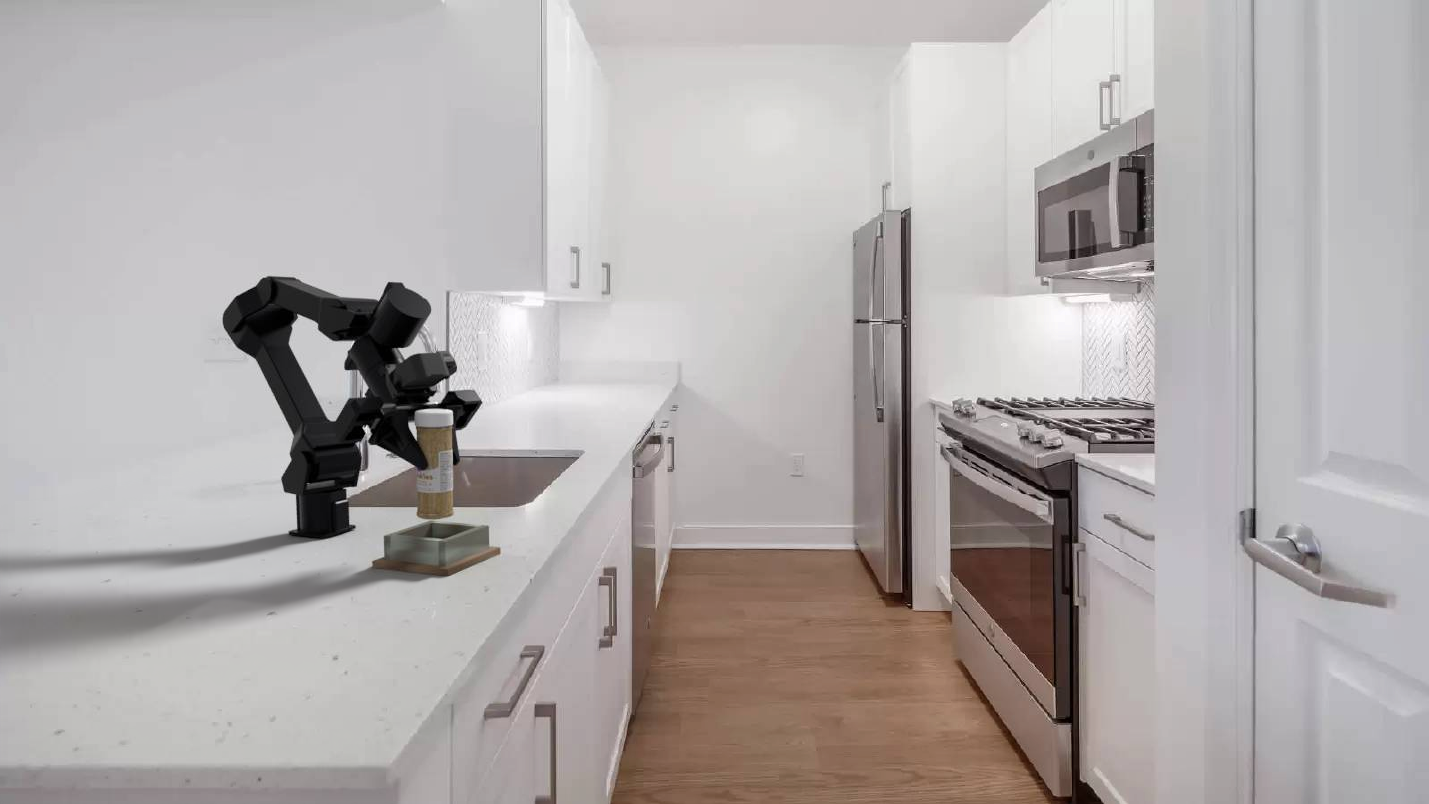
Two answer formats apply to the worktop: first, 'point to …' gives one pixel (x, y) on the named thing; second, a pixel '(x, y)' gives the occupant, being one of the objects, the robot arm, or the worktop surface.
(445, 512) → the sprinkles bottle
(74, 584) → the worktop surface
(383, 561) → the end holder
